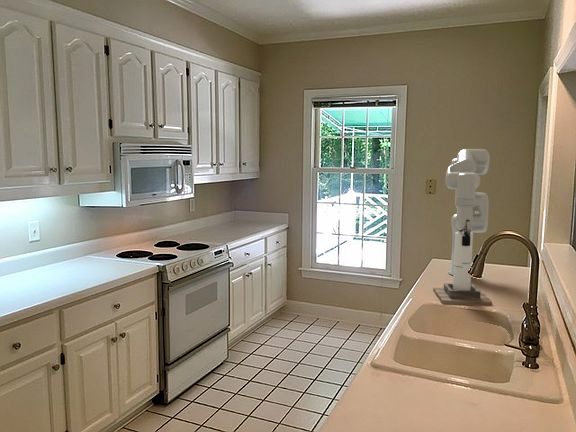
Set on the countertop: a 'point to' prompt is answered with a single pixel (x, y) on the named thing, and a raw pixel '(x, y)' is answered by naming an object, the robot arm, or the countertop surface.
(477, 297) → the walnut caddy
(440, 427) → the countertop surface
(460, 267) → the cylindrical container
